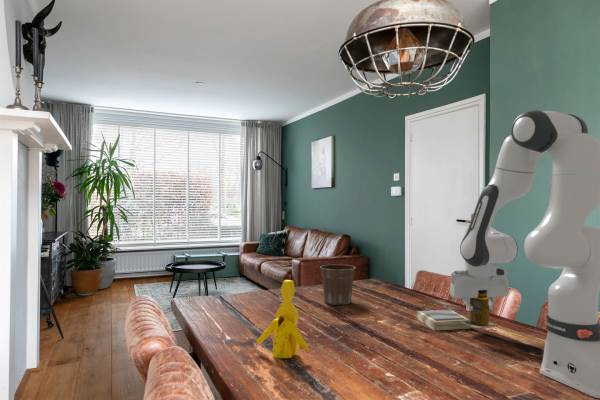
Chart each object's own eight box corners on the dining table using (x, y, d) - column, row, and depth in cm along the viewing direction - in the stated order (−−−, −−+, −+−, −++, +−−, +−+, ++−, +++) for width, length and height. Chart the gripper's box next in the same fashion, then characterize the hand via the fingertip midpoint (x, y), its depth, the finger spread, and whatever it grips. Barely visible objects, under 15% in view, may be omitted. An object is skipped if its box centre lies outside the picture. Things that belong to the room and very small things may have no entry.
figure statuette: (252, 354, 120) (252, 281, 120) (266, 346, 127) (266, 276, 127) (306, 365, 112) (306, 286, 112) (317, 355, 119) (317, 281, 119)
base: (470, 328, 144) (470, 318, 144) (434, 330, 142) (434, 320, 142) (450, 317, 158) (450, 308, 158) (416, 318, 156) (416, 310, 156)
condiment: (494, 324, 136) (494, 289, 137) (479, 328, 132) (479, 291, 132) (474, 319, 143) (474, 286, 143) (460, 323, 138) (460, 288, 138)
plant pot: (328, 296, 193) (327, 263, 193) (360, 300, 186) (360, 265, 186) (314, 304, 178) (314, 268, 178) (348, 308, 171) (348, 270, 171)
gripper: (455, 272, 133) (456, 314, 133) (511, 270, 136) (512, 311, 136) (445, 269, 139) (446, 309, 139) (499, 267, 142) (500, 306, 142)
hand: (479, 310), depth 137 cm, fingers closed on condiment, 6 cm apart
